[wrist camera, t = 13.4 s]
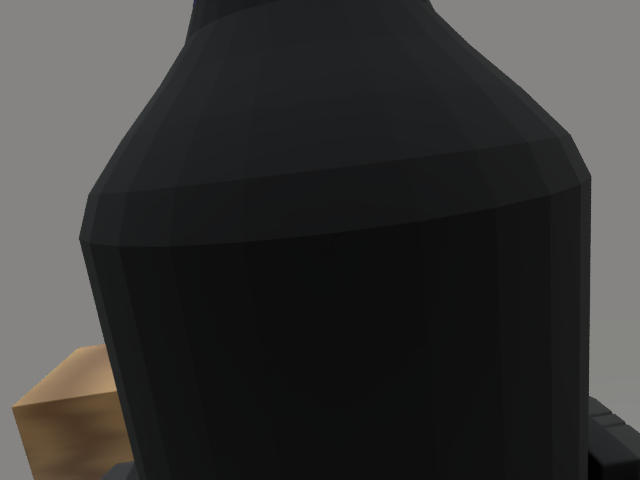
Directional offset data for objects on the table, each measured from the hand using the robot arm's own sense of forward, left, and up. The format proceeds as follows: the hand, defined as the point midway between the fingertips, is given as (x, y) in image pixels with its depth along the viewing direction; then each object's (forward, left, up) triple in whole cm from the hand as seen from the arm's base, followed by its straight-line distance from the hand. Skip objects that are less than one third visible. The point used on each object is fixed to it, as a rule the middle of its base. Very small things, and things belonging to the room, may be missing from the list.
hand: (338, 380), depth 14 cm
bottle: (+2, -4, -15) cm, 16 cm away
